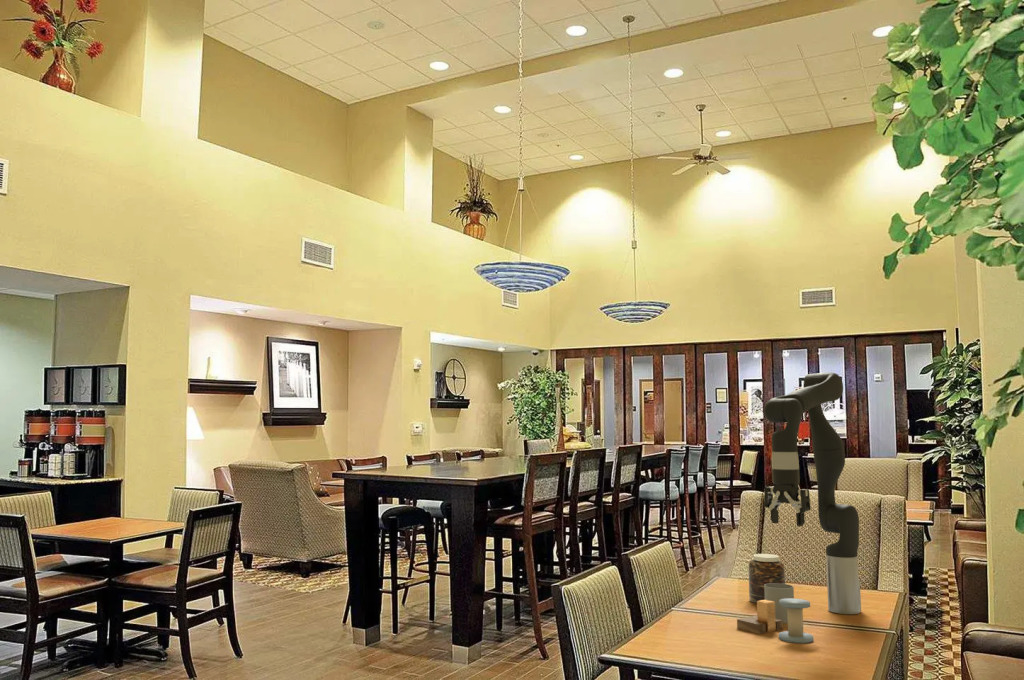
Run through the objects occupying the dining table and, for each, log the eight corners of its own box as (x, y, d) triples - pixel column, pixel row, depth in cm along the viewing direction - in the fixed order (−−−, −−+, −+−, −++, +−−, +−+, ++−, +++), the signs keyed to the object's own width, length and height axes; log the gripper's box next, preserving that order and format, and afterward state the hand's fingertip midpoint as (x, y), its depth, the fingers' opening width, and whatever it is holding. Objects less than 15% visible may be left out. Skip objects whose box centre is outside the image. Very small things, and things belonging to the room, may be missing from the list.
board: (760, 623, 241) (759, 615, 241) (782, 629, 234) (782, 620, 235) (737, 628, 235) (736, 619, 236) (759, 634, 229) (759, 624, 229)
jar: (790, 600, 273) (788, 554, 275) (781, 607, 263) (779, 559, 265) (754, 596, 280) (753, 551, 281) (744, 602, 270) (743, 556, 271)
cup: (796, 623, 241) (795, 589, 242) (767, 622, 243) (766, 587, 244) (792, 617, 249) (791, 583, 250) (764, 616, 251) (763, 582, 252)
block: (765, 628, 236) (764, 599, 237) (775, 630, 233) (774, 601, 234) (757, 629, 234) (756, 601, 235) (767, 632, 231) (767, 603, 232)
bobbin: (792, 633, 230) (791, 596, 231) (820, 640, 222) (819, 602, 223) (771, 637, 225) (770, 600, 226) (799, 645, 217) (798, 606, 218)
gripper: (814, 468, 233) (817, 526, 231) (773, 466, 245) (775, 521, 243) (797, 469, 229) (800, 528, 227) (757, 467, 240) (758, 523, 239)
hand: (787, 524), depth 235 cm, fingers open, 8 cm apart
